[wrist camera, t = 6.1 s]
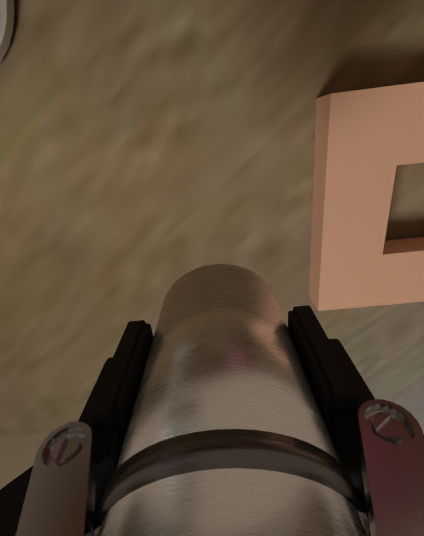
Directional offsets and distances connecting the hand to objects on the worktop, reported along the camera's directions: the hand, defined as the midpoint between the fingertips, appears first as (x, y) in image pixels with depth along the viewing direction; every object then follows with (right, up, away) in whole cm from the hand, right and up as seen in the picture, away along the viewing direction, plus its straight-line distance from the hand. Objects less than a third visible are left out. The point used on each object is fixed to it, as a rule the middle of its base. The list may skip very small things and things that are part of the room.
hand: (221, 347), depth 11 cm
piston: (0, +1, +2) cm, 2 cm away
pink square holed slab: (+18, +9, +15) cm, 25 cm away
